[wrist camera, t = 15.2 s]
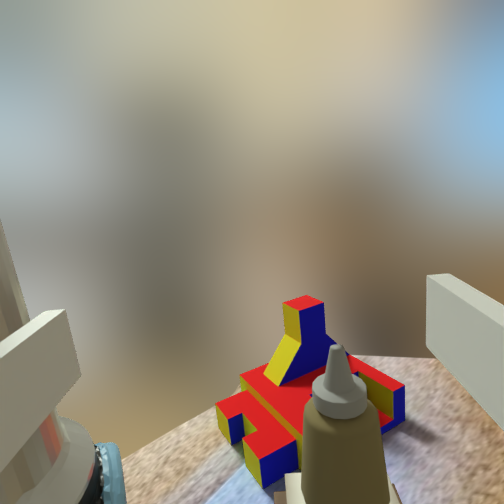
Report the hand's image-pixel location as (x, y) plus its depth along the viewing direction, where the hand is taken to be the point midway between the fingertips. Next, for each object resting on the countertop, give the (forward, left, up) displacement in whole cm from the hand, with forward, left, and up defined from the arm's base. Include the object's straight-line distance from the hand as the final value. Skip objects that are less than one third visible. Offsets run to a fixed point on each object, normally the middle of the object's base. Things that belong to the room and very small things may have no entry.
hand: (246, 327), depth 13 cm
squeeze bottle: (+6, +16, -28) cm, 33 cm away
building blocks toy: (+5, +39, -37) cm, 54 cm away
